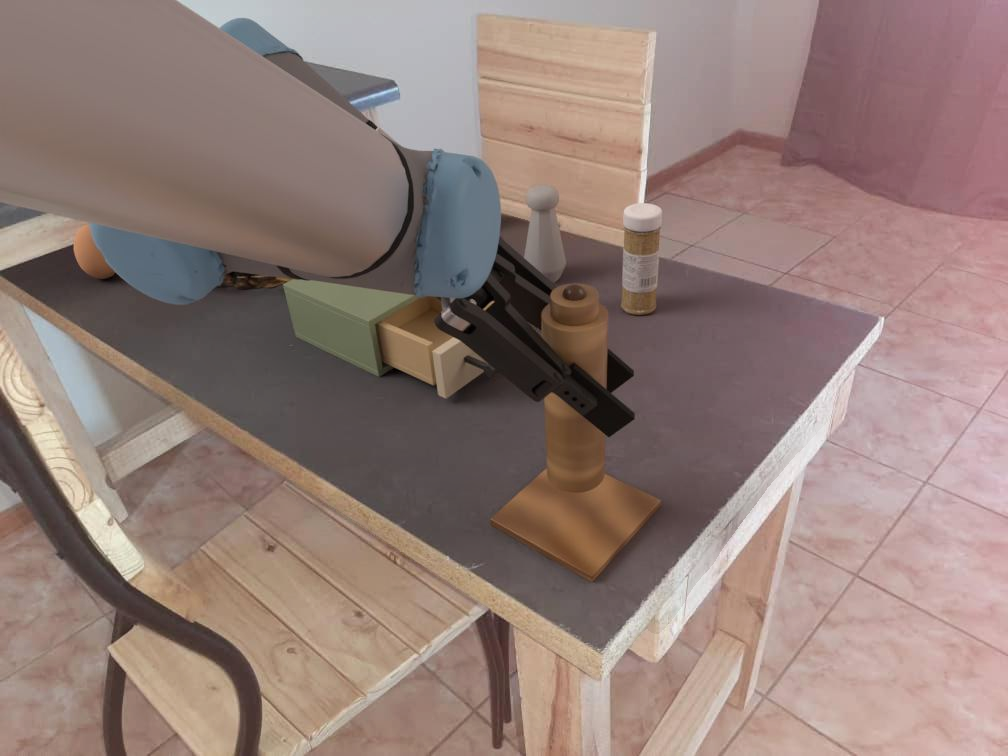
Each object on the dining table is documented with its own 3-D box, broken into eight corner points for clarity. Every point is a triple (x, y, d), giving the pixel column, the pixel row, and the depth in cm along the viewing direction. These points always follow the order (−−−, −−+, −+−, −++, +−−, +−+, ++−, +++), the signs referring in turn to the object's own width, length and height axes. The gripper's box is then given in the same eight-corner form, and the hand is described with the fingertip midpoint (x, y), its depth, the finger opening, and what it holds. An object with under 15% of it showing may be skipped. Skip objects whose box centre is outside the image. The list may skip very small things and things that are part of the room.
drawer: (551, 355, 90) (550, 312, 87) (475, 413, 82) (471, 367, 79) (435, 310, 100) (429, 269, 97) (357, 357, 92) (348, 315, 89)
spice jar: (651, 297, 102) (657, 200, 94) (660, 314, 98) (667, 214, 90) (616, 300, 101) (619, 203, 94) (624, 318, 98) (628, 218, 90)
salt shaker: (573, 273, 108) (572, 183, 101) (553, 291, 105) (551, 199, 97) (537, 264, 111) (534, 177, 104) (516, 282, 107) (511, 192, 100)
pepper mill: (582, 501, 64) (582, 309, 54) (535, 477, 67) (526, 289, 56) (615, 468, 67) (622, 280, 57) (569, 446, 70) (566, 263, 60)
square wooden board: (592, 582, 64) (592, 576, 63) (490, 524, 70) (489, 518, 69) (660, 506, 70) (661, 499, 70) (562, 459, 76) (562, 453, 76)
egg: (80, 277, 116) (59, 226, 112) (119, 264, 119) (100, 214, 115) (92, 290, 113) (71, 237, 108) (132, 276, 116) (113, 224, 111)
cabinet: (463, 323, 99) (457, 270, 95) (379, 377, 90) (368, 321, 86) (380, 290, 108) (371, 240, 103) (295, 337, 99) (282, 284, 94)
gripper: (393, 197, 64) (592, 366, 71) (325, 307, 50) (583, 505, 57) (450, 132, 60) (653, 317, 68) (394, 230, 46) (661, 452, 53)
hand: (621, 402), depth 62 cm, fingers closed on pepper mill, 5 cm apart
